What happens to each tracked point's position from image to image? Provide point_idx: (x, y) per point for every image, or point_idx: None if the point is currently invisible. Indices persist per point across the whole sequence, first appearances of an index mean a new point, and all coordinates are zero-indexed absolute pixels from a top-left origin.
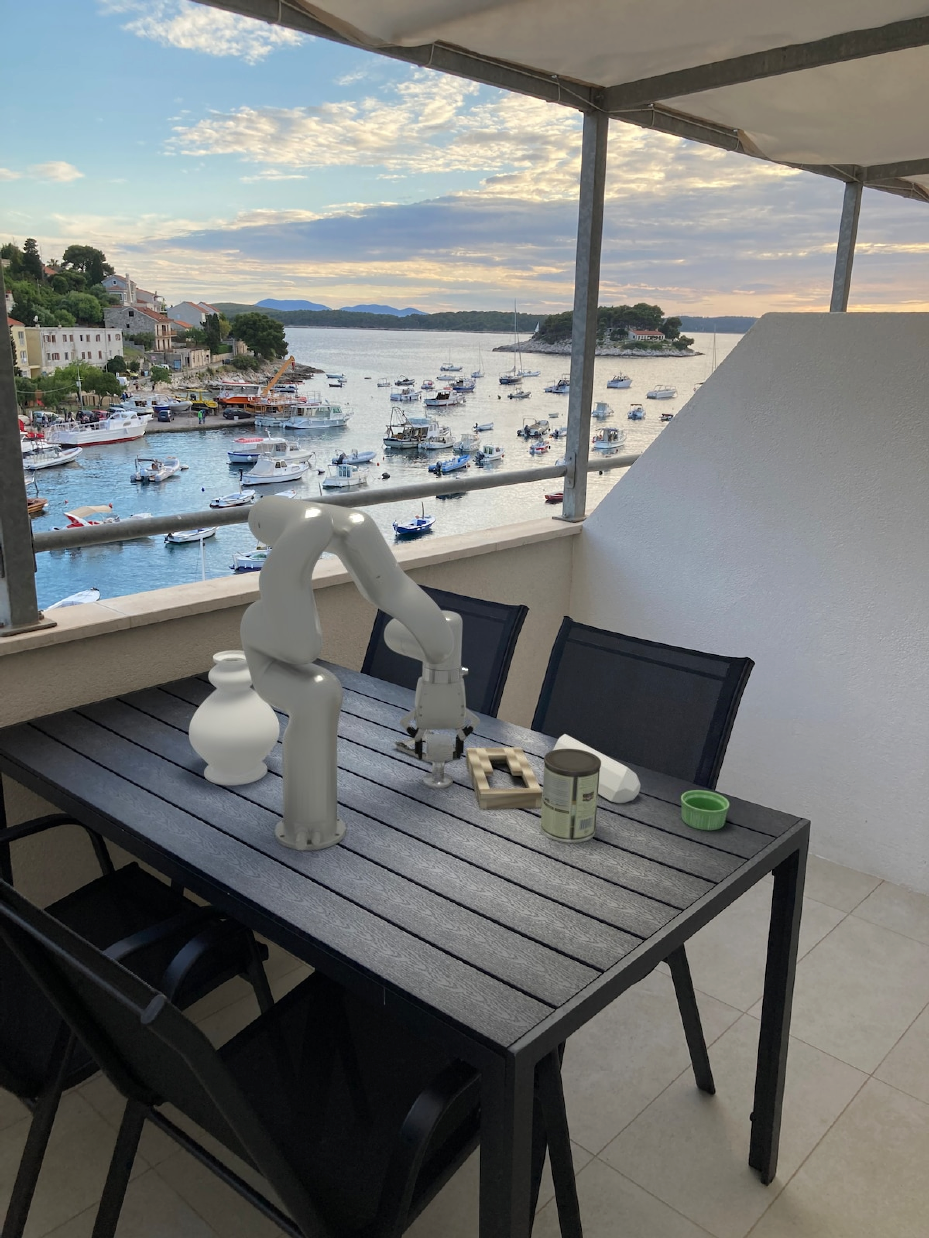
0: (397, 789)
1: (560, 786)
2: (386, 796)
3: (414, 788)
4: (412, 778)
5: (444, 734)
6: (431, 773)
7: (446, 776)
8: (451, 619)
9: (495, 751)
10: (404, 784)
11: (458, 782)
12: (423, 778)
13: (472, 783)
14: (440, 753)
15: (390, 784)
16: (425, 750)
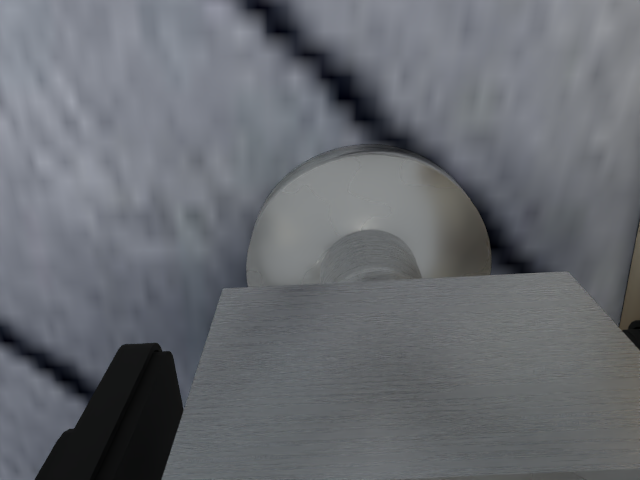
0: (71, 355)
1: None
2: (19, 440)
3: (190, 341)
4: (159, 182)
5: (595, 477)
6: (317, 184)
7: (443, 240)
8: None
9: None
10: (109, 284)
11: (526, 249)
12: (247, 276)
13: (630, 271)
14: None
15: (3, 285)
16: (222, 292)
